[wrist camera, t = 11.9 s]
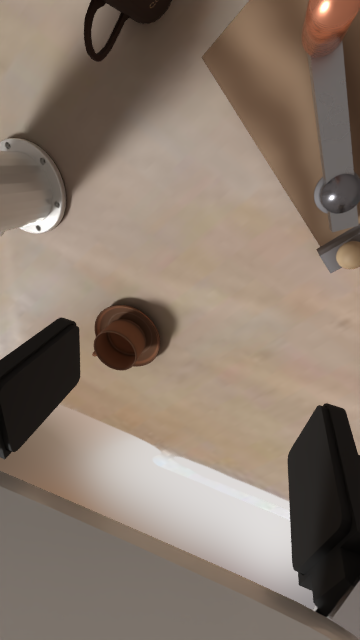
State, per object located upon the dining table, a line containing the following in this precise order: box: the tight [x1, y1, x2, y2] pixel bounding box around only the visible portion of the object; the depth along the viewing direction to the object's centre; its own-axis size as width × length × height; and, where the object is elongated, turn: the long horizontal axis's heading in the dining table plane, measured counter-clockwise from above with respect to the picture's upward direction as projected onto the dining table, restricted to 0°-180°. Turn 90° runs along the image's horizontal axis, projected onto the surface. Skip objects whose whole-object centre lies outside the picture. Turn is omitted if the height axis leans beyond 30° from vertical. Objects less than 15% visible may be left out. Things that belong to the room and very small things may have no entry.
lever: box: [302, 0, 360, 232], centre depth 24 cm, size 18×4×8 cm, turn 20°
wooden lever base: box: [202, 0, 360, 273], centre depth 26 cm, size 16×26×7 cm, turn 41°
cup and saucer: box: [92, 305, 160, 370], centre depth 47 cm, size 12×12×6 cm
